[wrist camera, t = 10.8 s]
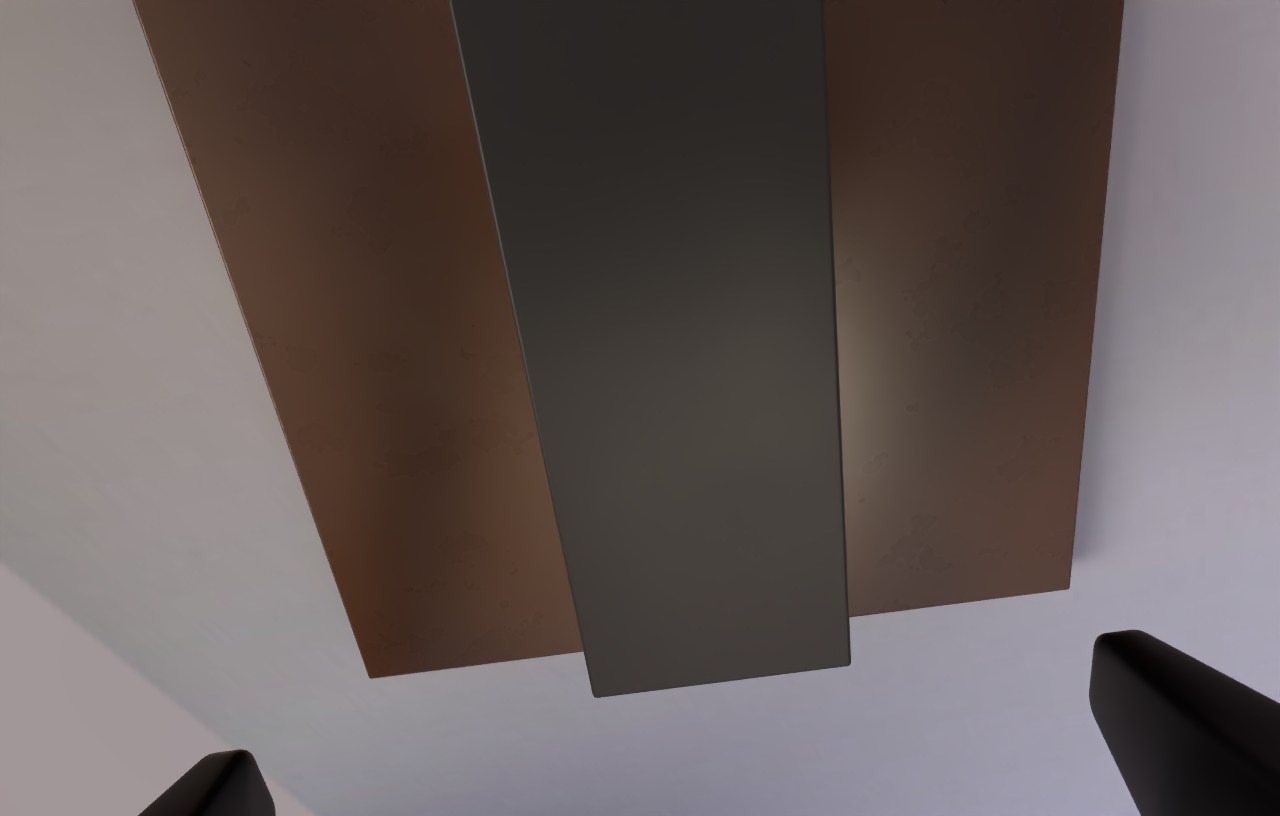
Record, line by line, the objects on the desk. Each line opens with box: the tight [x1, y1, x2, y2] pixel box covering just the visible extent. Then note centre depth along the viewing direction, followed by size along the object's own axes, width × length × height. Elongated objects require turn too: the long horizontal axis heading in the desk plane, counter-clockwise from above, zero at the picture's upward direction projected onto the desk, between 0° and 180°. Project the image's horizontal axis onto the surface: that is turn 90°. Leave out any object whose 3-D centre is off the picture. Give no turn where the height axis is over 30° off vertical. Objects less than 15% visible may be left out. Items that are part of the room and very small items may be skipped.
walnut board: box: [132, 0, 1124, 679], centre depth 18 cm, size 18×20×1 cm
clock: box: [447, 0, 851, 698], centre depth 15 cm, size 12×5×6 cm, turn 8°
